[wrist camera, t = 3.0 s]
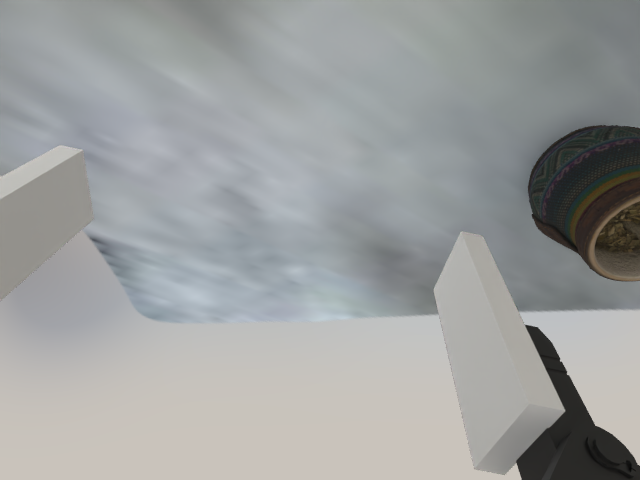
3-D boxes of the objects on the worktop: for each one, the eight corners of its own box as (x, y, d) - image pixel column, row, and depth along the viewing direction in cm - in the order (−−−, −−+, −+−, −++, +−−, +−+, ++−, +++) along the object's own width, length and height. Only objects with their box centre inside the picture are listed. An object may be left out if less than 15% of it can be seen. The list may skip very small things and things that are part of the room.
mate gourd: (564, 92, 22) (683, 161, 14) (674, 138, 23) (845, 228, 15) (492, 195, 26) (551, 296, 18) (588, 232, 27) (686, 343, 19)
